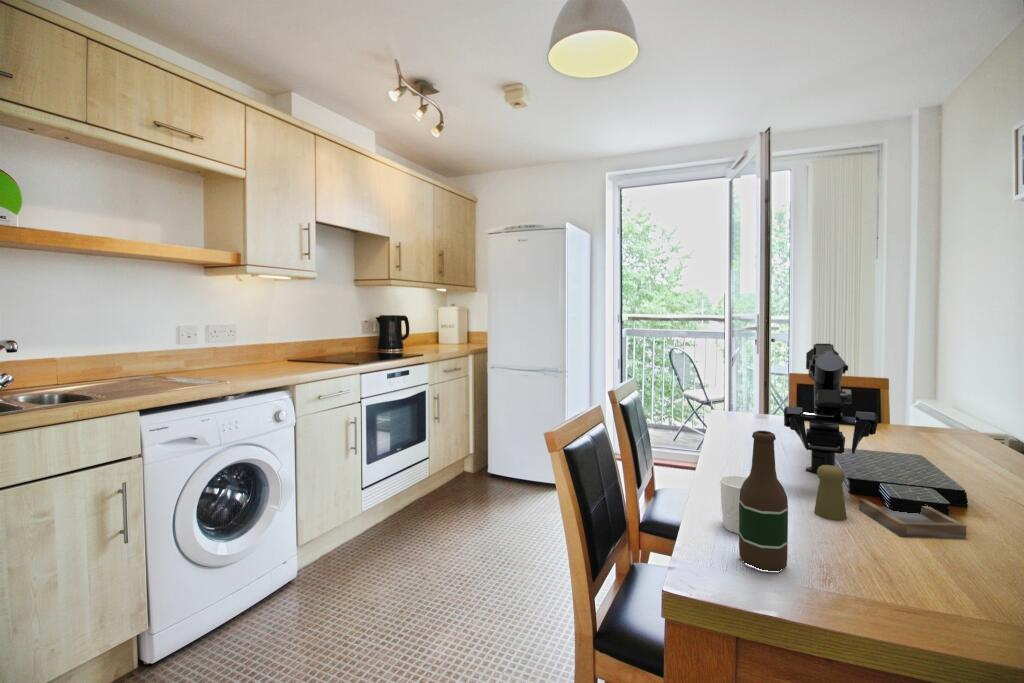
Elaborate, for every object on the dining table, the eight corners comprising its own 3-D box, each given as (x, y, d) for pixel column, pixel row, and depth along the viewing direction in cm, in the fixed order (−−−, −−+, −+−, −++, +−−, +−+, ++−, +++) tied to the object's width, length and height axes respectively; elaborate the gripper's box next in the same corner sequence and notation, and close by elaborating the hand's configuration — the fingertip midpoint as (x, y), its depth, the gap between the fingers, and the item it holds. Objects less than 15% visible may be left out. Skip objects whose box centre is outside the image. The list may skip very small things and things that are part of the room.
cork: (852, 521, 101) (853, 471, 101) (821, 519, 102) (821, 470, 102) (838, 510, 107) (839, 462, 107) (809, 508, 108) (810, 461, 108)
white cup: (758, 522, 102) (758, 477, 101) (764, 539, 94) (765, 490, 94) (718, 518, 104) (718, 473, 104) (721, 533, 97) (722, 486, 96)
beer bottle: (786, 578, 80) (788, 439, 79) (736, 566, 84) (737, 434, 83) (787, 558, 87) (789, 430, 85) (741, 548, 91) (742, 425, 90)
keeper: (859, 509, 107) (859, 498, 107) (916, 511, 106) (916, 499, 106) (900, 536, 94) (900, 524, 94) (965, 538, 93) (966, 525, 93)
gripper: (784, 374, 119) (783, 426, 110) (877, 378, 109) (884, 436, 100) (784, 400, 126) (783, 451, 117) (872, 406, 116) (877, 462, 107)
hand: (829, 450), depth 110 cm, fingers open, 9 cm apart
